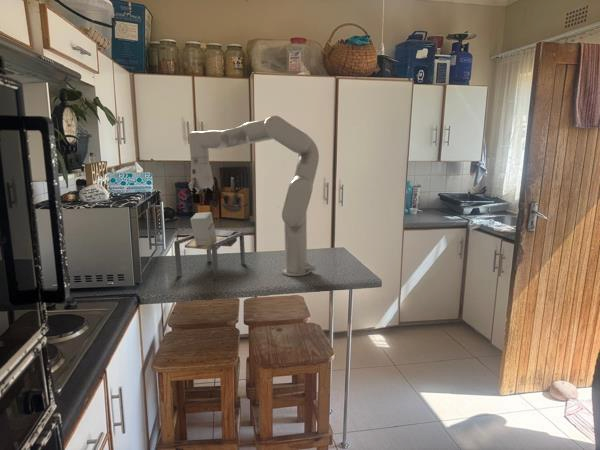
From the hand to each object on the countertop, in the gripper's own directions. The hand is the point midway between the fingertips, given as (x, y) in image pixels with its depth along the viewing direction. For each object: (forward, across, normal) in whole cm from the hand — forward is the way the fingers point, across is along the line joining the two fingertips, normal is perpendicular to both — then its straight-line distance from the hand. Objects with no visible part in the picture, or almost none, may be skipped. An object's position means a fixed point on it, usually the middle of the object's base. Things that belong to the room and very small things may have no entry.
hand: (203, 201), depth 169 cm
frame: (+32, +4, 0) cm, 32 cm away
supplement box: (+18, 0, 0) cm, 18 cm away
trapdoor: (+22, +5, 0) cm, 22 cm away
